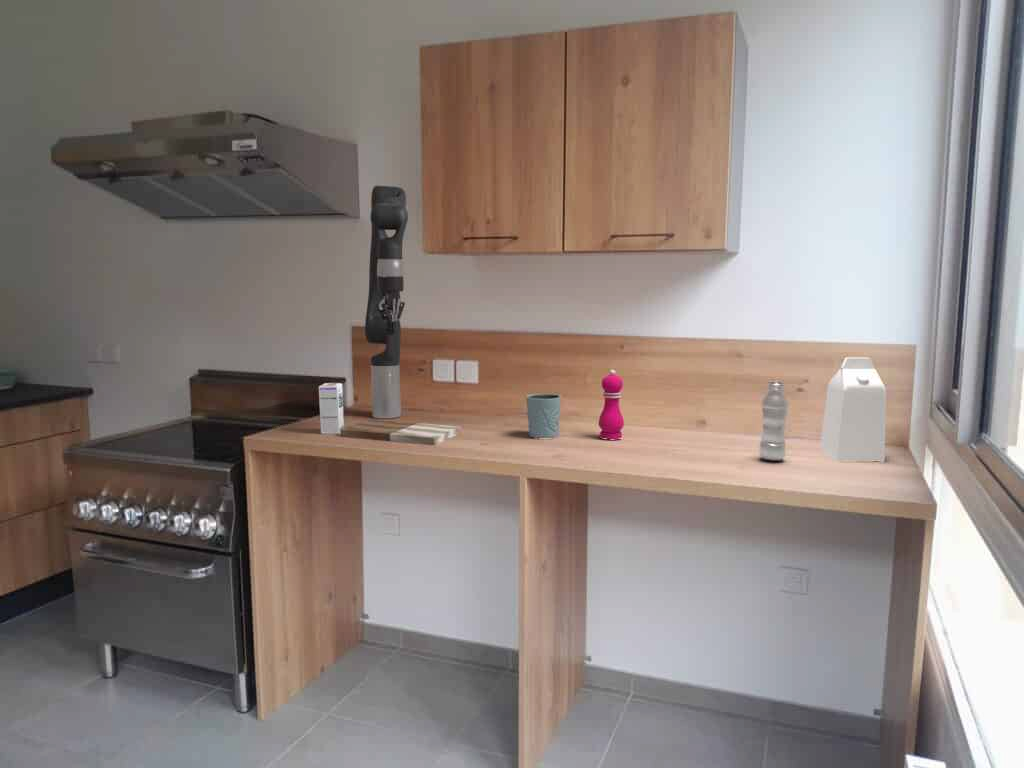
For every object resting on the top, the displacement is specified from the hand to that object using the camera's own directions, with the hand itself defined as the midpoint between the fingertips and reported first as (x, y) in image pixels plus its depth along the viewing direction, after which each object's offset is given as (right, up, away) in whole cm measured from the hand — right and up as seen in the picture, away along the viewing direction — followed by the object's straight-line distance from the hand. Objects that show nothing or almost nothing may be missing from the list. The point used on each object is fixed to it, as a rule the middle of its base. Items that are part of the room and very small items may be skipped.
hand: (391, 334), depth 222 cm
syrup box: (-18, -29, +2) cm, 34 cm away
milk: (+124, -34, -25) cm, 131 cm away
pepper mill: (+64, -30, -4) cm, 71 cm away
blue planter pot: (+45, -30, -2) cm, 54 cm away
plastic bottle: (+102, -34, -29) cm, 111 cm away
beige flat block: (+11, -30, -4) cm, 32 cm away
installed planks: (-4, -29, +2) cm, 29 cm away
